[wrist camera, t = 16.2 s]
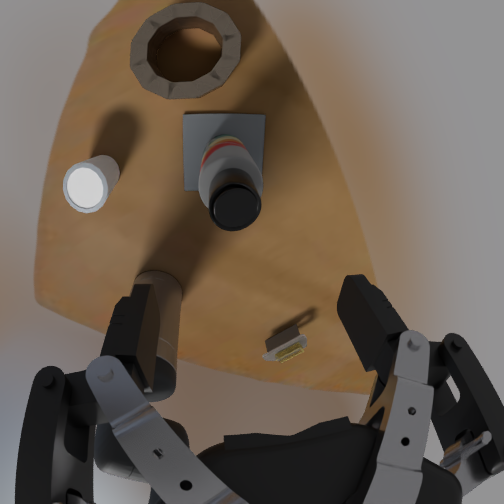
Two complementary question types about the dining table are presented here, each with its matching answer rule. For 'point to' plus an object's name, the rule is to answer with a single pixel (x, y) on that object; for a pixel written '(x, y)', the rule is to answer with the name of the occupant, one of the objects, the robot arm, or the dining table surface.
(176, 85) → the collar
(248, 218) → the lotion bottle
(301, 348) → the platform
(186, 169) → the rubber mat
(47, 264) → the dining table surface
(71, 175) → the white cylinder
